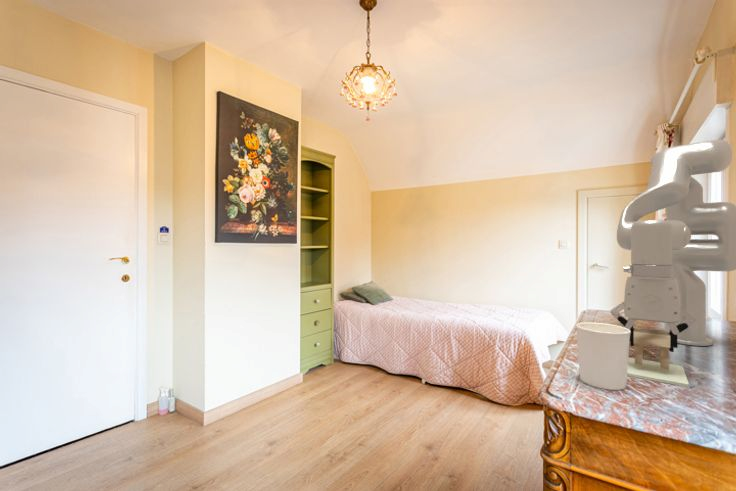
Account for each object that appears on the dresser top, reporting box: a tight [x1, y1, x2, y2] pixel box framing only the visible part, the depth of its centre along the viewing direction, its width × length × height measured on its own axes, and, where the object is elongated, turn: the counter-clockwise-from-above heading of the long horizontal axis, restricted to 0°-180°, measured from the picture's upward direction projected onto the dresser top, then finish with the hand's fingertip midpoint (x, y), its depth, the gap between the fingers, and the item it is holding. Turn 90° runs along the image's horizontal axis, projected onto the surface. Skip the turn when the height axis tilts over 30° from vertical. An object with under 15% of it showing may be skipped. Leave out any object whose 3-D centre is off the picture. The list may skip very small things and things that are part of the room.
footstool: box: [633, 326, 670, 370], centre depth 81 cm, size 6×6×8 cm
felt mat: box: [627, 357, 690, 388], centre depth 81 cm, size 14×12×1 cm
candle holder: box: [575, 321, 631, 391], centre depth 74 cm, size 10×10×12 cm
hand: (651, 346), depth 81 cm, fingers closed on footstool, 6 cm apart
